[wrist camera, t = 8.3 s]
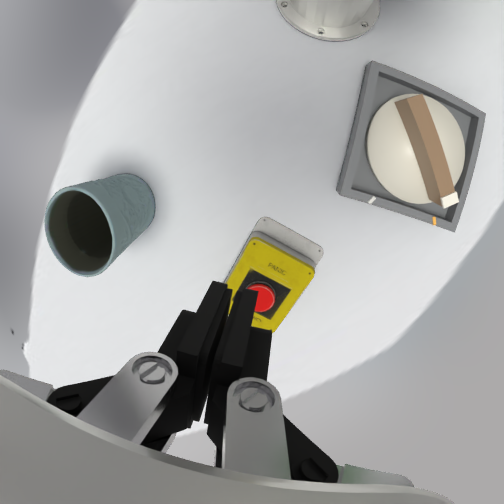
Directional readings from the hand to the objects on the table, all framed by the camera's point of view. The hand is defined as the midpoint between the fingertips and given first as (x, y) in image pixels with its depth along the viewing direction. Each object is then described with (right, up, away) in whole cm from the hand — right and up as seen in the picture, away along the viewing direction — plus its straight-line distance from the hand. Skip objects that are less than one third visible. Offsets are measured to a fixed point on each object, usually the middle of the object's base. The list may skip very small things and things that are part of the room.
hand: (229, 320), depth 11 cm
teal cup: (-16, +9, +28) cm, 34 cm away
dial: (+20, +15, +20) cm, 32 cm away
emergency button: (+3, -1, +30) cm, 30 cm away
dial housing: (+20, +15, +21) cm, 33 cm away
